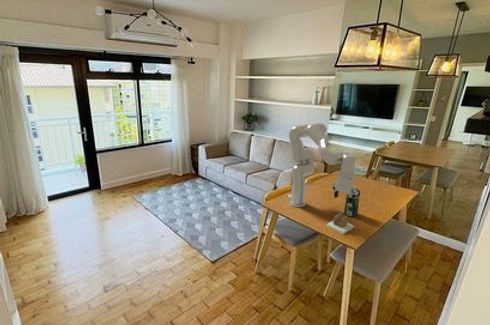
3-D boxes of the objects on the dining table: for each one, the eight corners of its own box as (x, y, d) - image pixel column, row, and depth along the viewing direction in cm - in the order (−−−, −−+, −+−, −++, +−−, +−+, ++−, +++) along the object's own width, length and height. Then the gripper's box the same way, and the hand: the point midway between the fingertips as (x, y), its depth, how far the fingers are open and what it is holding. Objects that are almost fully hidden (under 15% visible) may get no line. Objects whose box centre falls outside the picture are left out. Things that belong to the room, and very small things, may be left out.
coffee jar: (348, 209, 187) (351, 186, 181) (359, 213, 182) (362, 189, 176) (341, 214, 181) (344, 190, 175) (352, 218, 175) (356, 193, 170)
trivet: (326, 226, 166) (326, 223, 166) (337, 220, 173) (337, 217, 173) (343, 234, 157) (343, 232, 157) (353, 227, 164) (353, 225, 164)
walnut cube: (333, 224, 165) (334, 215, 163) (338, 221, 169) (339, 213, 167) (341, 228, 161) (342, 219, 159) (346, 225, 164) (348, 216, 162)
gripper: (330, 171, 158) (327, 196, 164) (356, 180, 146) (352, 207, 151) (337, 169, 163) (334, 193, 168) (363, 177, 150) (359, 203, 155)
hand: (342, 200), depth 160 cm, fingers open, 9 cm apart
